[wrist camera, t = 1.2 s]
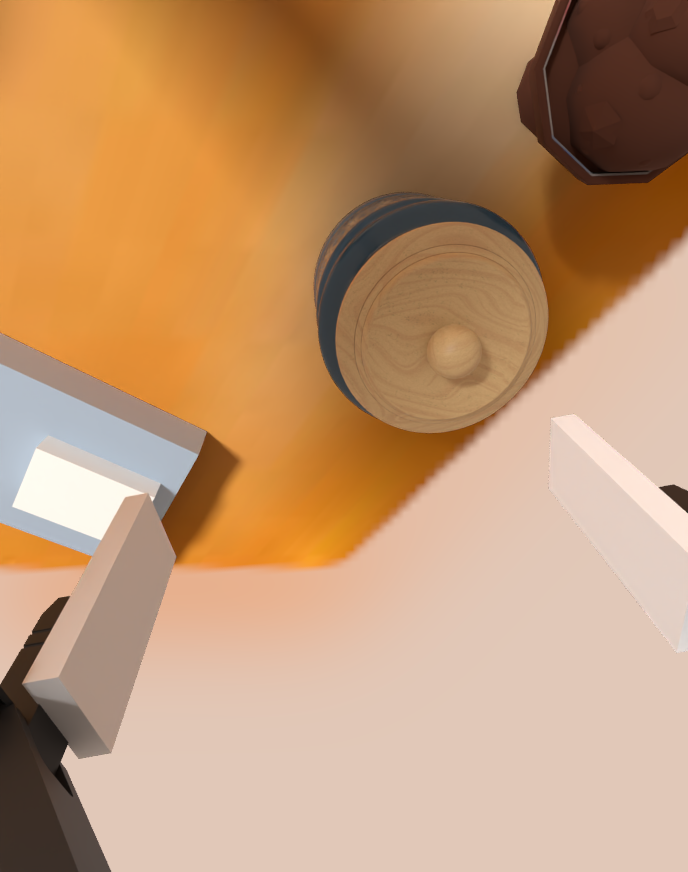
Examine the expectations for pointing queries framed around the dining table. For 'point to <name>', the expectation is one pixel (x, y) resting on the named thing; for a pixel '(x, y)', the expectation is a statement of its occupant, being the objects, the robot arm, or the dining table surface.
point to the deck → (82, 433)
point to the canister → (428, 311)
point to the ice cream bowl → (610, 88)
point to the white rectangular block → (77, 487)
